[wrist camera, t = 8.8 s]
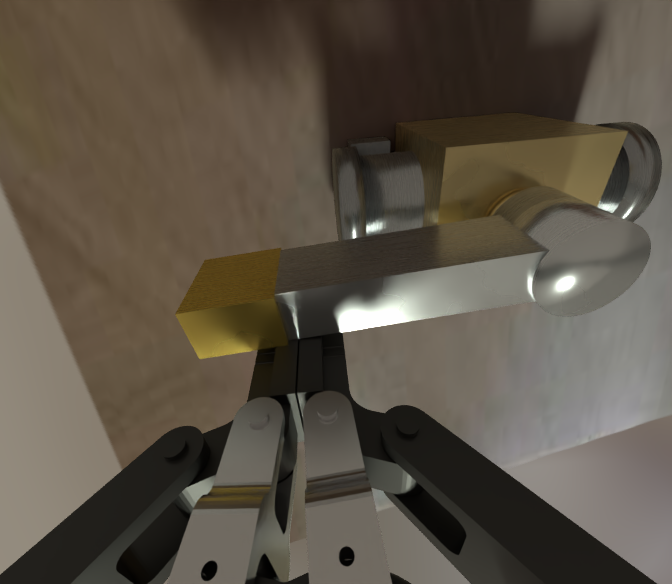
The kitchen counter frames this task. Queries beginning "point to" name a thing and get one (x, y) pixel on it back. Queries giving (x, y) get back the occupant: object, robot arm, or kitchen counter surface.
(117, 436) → the kitchen counter surface
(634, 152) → the ball valve
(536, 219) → the lever
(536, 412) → the kitchen counter surface
